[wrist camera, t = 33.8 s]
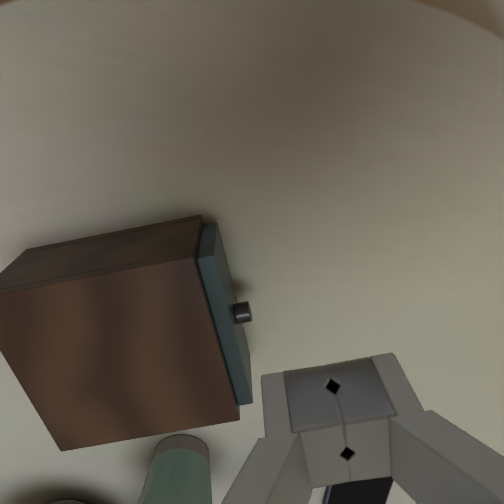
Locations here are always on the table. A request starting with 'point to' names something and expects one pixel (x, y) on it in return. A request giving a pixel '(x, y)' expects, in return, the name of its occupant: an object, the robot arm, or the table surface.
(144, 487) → the coffee cup
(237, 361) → the drawer
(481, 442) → the robot arm
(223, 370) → the cabinet
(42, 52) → the table surface
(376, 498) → the smartphone
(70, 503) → the vase
